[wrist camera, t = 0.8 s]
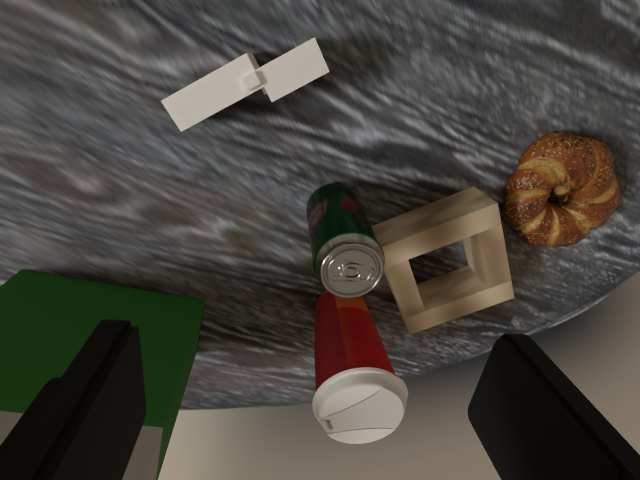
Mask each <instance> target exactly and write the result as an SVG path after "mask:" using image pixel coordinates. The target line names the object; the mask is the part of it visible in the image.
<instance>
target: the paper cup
mask: <svg viewBox="0 0 640 480" xmlns="http://www.w3.org/2000/svg"><path fill="white" fill-rule="evenodd" d="M315 373H316V393H315V395H314V398H313V402H312V408H313V412H314V415H315V417H316V419H317V420H318V421H319V423H320V424H321V425H322V426H323V428H324V430H325V431H326V434H327V435H328V436H330V437H331V438H333V439H335V440H337V441H340V442H343V443H350V444H361V443H369V442H373V441H376V440H378V439H381V438H383V437H385V436H387V435H389V434H390V433H391V432H393V431H394V430H395V429H396V428H397V426H398V425H399V423H400V422H401V420H402V418H403V415H404V411H405V409H406V405H407V401H406V400H407V397H408V390H407V387H406V385H405V383H404V382H403V380H402V379H400V378H398V377H397V376H396V375H395V372H394V370H393V368H392V365H391V363H390V360H389V358H388V356H387V353H386V351H385V348H384V346H383V343H382V341H381V339H380V336H379V334H378V331H377V329H376V327H375V324H374V322H373V320H372V317H371V315H370V312H369V310H368V308H367V306H366V303H365V301H364V299H363V297H362V296H360V297H355V298H343V297H339V296H336V295H334V294H332V293H331V292H329V291H328V290H326V291H324V292H323V293H322V294H321V295H320V296H319V298H318V299H317V301H316V305H315Z"/></svg>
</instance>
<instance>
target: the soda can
mask: <svg viewBox="0 0 640 480" xmlns="http://www.w3.org/2000/svg"><path fill="white" fill-rule="evenodd" d="M307 219H308V227H309V235H310V243H311V251H312V259H313V267H314V272H315V275H316V277H317V279H318V281H319V282H320V283H321V284H322V285H323V286H324V287H325V288H326V289H327V290H328V291H329V292H331V293H332V294H334V295H336V296H339V297H343V298H355V297H360V296H362V295H365V294H367V293H368V292H370V291H371V290H373V289H374V288H375V287H376V285H377V284H378V283H379V281H380V279H381V277H382V273H383V269H384V264H385V256H384V252H383V249H382V247H381V245H380V243H379V241H378V239H377V237H376V235H375V233H374V231H373V229H372V227H371V225H370V223H369V221H368V219H367V217H366V214H365V212H364V210H363V208H362V206H361V204H360V202H359V200H358V198H357V196H356V195H355V193H354V192H353V191H352V190H351V189H349V188H348V187H346V186H344V185H340V184H328V185H325V186H322V187H320V188H319V189H317V190H316V191H315V192H314V193H313V194H312V195H311V197H310V198H309V200H308V203H307Z"/></svg>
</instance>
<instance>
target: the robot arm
mask: <svg viewBox="0 0 640 480" xmlns="http://www.w3.org/2000/svg"><path fill="white" fill-rule="evenodd" d="M145 416H146V396H145V386H144V376H143V366H142V356H141V345H140V335H139V329H138V327H132V326H131V322H130V321H129V320H111V319H103V320H101V321H100V322H99V323H98V325H97V326H96V328H95V329H94V331H93V332H92V334H91V335H90V336H89V338H88V339H87V341H86V342H85V344H84V345H83V346H82V348H81V349H80V351H79V352H78V354H77V355H76V357H75V358H74V359H73V361H72V362H71V364H70V365H69V367H68V368H67V369H66V371H65V372H64V374H63V375H62V377H54V378H52V379H51V380H49V381H48V382H47V383H46V384H45V385H44V386H43V388H42V389H41V390H40V392H39V393H38V395H37V396H36V397H35V399H34V400H33V401H32V403H31V404H30V405H29V407H28V408H27V410H26V411H25V412H24V414H23V415H22V416H21V418H20V419H19V421H18V422H17V423H16V425H15V426H14V427H13V429H12V430H11V431H10V433H9V434H8V436H7V437H6V438H5V440H4V441H3V442H2V444H1V445H0V480H122V479H123V476H124V474H125V471H126V468H127V466H128V463H129V460H130V458H131V455H132V452H133V450H134V447H135V444H136V442H137V439H138V436H139V434H140V431H141V428H142V426H143V423H144V420H145ZM468 417H469V420H470V422H471V424H472V426H473V428H474V430H475V432H476V434H477V435H478V437H479V439H480V441H481V442H482V445H483V446H484V448H485V450H486V452H487V454H488V456H489V457H490V459H491V461H492V463H493V465H494V467H495V469H496V471H497V472H498V474H499V476H500V478H501V480H640V455H639V454H638V453H637V452H636V451H635V450H634V449H633V447H632V446H631V445H630V444H629V443H628V442H627V441H626V440H625V439H624V438H623V437H622V436H621V435H620V433H619V432H618V431H617V430H616V429H615V428H614V427H613V426H612V425H611V424H610V423H609V422H608V421H607V420H606V418H605V417H604V416H603V415H602V414H601V413H600V412H599V411H598V410H597V409H596V408H595V407H594V406H593V404H592V403H591V402H590V401H589V400H588V399H587V398H586V397H585V396H584V395H583V394H582V393H581V391H579V389H578V388H577V387H576V386H575V385H574V384H573V383H572V382H571V381H570V380H569V379H568V378H567V376H566V375H565V374H564V373H563V372H562V371H561V370H560V369H559V368H558V367H557V366H556V365H555V364H554V362H553V361H552V360H550V358H549V357H548V356H547V355H546V354H545V353H544V352H543V351H542V349H540V347H539V346H538V345H537V344H536V343H535V342H534V341H533V340H532V339H531V338H530V337H529V336H528V335H525V334H503V335H502V336H501V337H500V339H497V340H496V342H495V343H494V346H493V348H492V351H491V353H490V355H489V358H488V360H487V363H486V365H485V368H484V370H483V372H482V375H481V377H480V380H479V382H478V385H477V387H476V390H475V392H474V394H473V397H472V399H471V402H470V404H469V406H468Z"/></svg>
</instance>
